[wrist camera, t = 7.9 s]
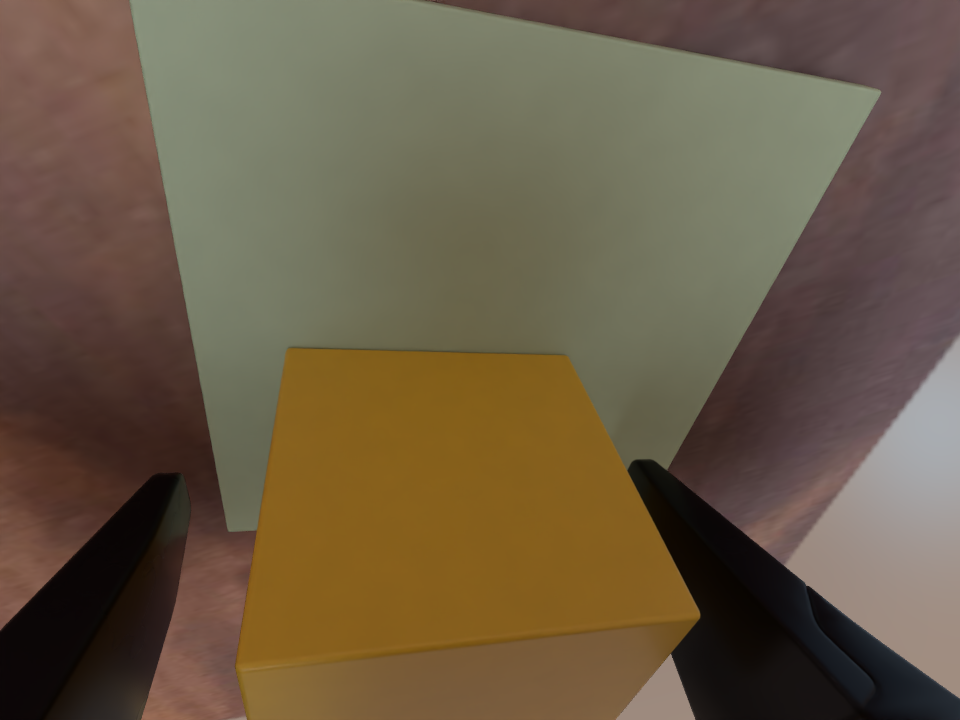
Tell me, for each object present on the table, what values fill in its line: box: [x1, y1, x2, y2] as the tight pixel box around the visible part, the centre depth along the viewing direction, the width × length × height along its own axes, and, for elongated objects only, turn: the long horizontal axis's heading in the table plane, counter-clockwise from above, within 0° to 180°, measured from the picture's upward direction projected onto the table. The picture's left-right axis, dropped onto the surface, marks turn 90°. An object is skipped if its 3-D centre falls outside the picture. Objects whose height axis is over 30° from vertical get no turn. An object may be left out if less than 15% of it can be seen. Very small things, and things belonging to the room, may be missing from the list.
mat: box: [129, 0, 881, 532], centre depth 10 cm, size 10×10×1 cm
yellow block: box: [235, 348, 700, 720], centre depth 9 cm, size 5×5×5 cm
